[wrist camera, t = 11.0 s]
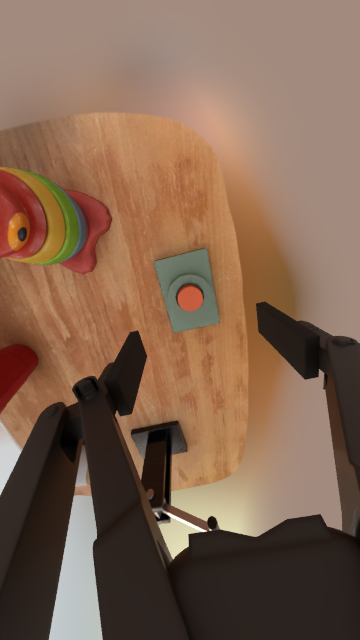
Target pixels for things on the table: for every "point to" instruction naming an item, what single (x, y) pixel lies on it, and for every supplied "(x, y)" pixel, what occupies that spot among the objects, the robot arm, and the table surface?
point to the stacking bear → (48, 222)
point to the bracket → (159, 461)
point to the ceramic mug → (83, 470)
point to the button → (190, 298)
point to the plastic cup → (14, 370)
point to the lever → (188, 518)
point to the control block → (188, 272)
